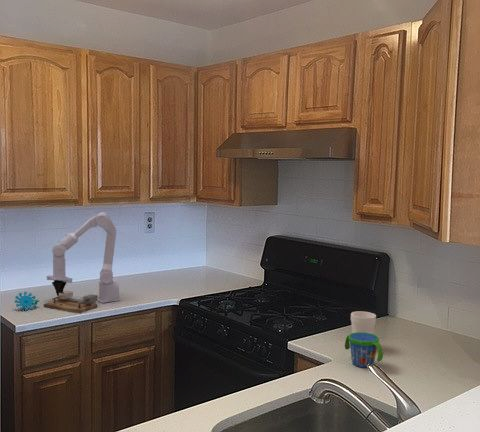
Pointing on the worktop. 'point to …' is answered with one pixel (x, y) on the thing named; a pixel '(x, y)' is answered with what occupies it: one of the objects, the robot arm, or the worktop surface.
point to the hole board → (69, 306)
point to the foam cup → (363, 322)
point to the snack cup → (363, 348)
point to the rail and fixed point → (86, 300)
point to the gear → (26, 301)
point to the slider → (64, 295)
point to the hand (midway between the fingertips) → (59, 295)
